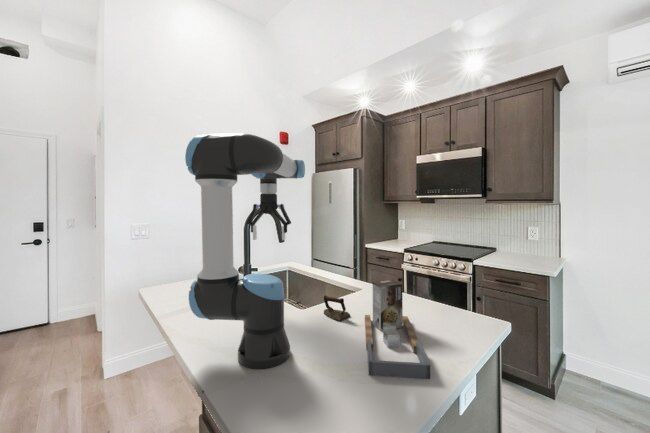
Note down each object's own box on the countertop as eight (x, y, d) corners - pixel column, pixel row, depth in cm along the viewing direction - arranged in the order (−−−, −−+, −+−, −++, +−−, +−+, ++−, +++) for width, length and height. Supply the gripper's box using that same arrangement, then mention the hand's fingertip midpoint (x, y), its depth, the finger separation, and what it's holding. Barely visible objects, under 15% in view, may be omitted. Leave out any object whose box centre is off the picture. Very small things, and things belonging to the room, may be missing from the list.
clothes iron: (341, 323, 112) (335, 298, 113) (319, 323, 119) (313, 299, 120) (352, 316, 118) (345, 291, 118) (330, 316, 125) (324, 293, 125)
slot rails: (420, 353, 89) (420, 346, 89) (366, 350, 91) (366, 344, 91) (407, 321, 113) (407, 316, 113) (364, 319, 115) (364, 314, 114)
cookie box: (393, 321, 113) (393, 279, 113) (403, 327, 107) (403, 283, 106) (371, 324, 110) (372, 281, 110) (380, 331, 104) (380, 285, 103)
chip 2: (399, 347, 93) (400, 334, 93) (387, 348, 93) (387, 335, 92) (395, 341, 97) (395, 329, 97) (383, 342, 97) (383, 329, 96)
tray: (430, 378, 76) (430, 365, 76) (368, 375, 78) (368, 361, 78) (419, 353, 89) (419, 341, 89) (367, 350, 91) (367, 339, 91)
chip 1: (396, 339, 99) (396, 327, 98) (383, 338, 99) (384, 326, 99) (394, 333, 103) (394, 322, 102) (382, 333, 103) (383, 321, 103)
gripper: (297, 193, 139) (297, 239, 140) (245, 193, 141) (246, 238, 142) (293, 193, 131) (294, 241, 132) (239, 193, 134) (239, 240, 135)
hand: (269, 239), depth 137 cm, fingers open, 13 cm apart
